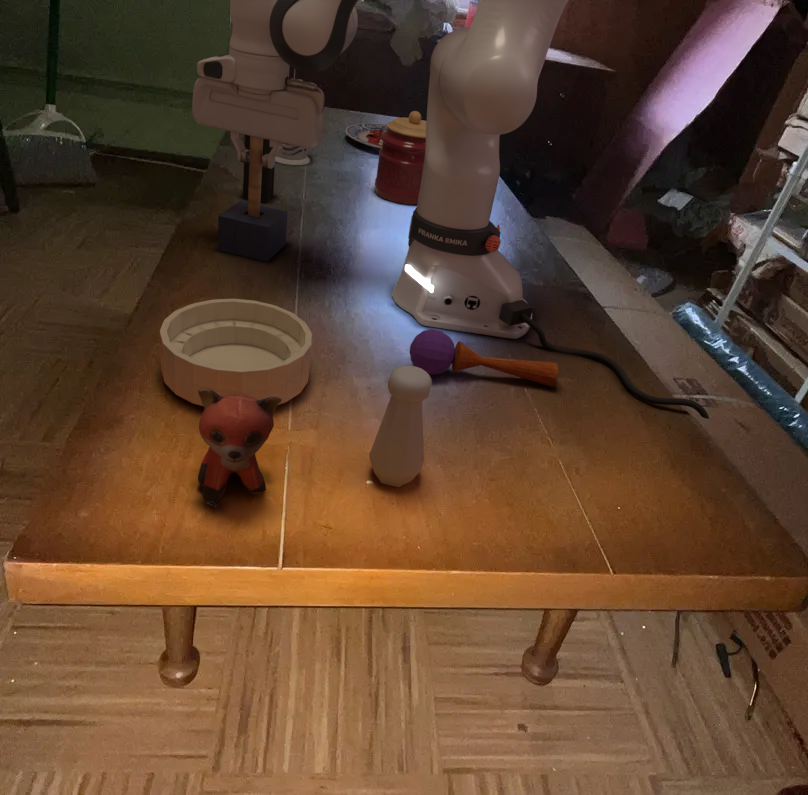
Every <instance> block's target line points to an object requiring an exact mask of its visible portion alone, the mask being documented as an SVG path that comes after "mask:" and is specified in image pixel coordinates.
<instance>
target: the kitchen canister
mask: <svg viewBox="0 0 808 795" xmlns="http://www.w3.org/2000/svg"><path fill="white" fill-rule="evenodd" d="M426 121H427V120H423V119H422V114H421V113H420V112H419V111H417V110H413V111H411V112H410V113H409V115H408V117H396V118H394V119H393V120H391V121H389V122H387V123H386V126H387V128H388V130H387V131H386V132H384V133H382V134H381V139H382V140H383V144H382V148H381V149H380V150H378V163H377V170H376V177H375V180H374V187H375V188H374V191H375V193H376V194H377V195H378V196H379V197H381V198H383V199H384V200H388V201H390V202H394V203H398V204H403V205H417V204H418V197H419V191H420V185H421V179H422V173H423V166H424V158H425V147H426Z"/></svg>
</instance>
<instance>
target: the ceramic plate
mask: <svg viewBox="0 0 808 795" xmlns="http://www.w3.org/2000/svg"><path fill="white" fill-rule="evenodd" d="M386 125H387V123H386V124H385V123H373V122H372V123H370V122H369V123H368V122H367V123H356V124H351V125H349V126H347V127H346V128H345V131H344V133H345V134H346V135H347V137H349V138H350V139H352V140H353V141H355V142H358V143H360V144H363V145H365V146H366V147H369V148H370V149H373V150H376V151H379V150H380V149H381V148H382V144H383V140H382V139H381V134H382V133H384V132H386V131H387V130H388V128H387V126H386Z"/></svg>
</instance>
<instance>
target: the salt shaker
mask: <svg viewBox="0 0 808 795" xmlns="http://www.w3.org/2000/svg"><path fill="white" fill-rule="evenodd" d="M387 380H388V381H387V389H388V392H389V394H390V398H389V401H388V404H387V406H386V408H385V412H384V414H383V416H382V419H381V422H380V425H379V427H378V430H377V433H376V435H375V439H374V441H373V444H372V446H371V449H370V452H369V460H370V463H371V466H372V470H373V473H374V474H375V476H376V477H377V479H378V480H379V482H380V483H381V484H384V485H387V486H392V487H396V488H400V487H402V486H404V485H407V484H408V483H411V482H412V481H413V480H414V479H415V478H416V476H418V474H419V473H420V472H421V471H422V469H423V466H424V462H425V446H424V442H425V441H424V422H423V421H424V419H423V417H424V416H423V401H425V400H426V399H428V398H429V396H430V393H431V390H432V386H433V384H432V383H433V382H432V381H433V379H432V378H431V375H430V374H428V373H427V372H426V371H424V370H423V369H421V368H419V367H416V366H415V365H400V366H398V367H396V368H395V369H393V370H392V371H391V373H390V375H389V378H388V379H387Z"/></svg>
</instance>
